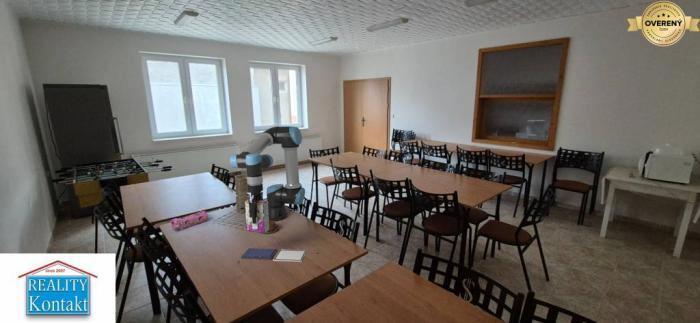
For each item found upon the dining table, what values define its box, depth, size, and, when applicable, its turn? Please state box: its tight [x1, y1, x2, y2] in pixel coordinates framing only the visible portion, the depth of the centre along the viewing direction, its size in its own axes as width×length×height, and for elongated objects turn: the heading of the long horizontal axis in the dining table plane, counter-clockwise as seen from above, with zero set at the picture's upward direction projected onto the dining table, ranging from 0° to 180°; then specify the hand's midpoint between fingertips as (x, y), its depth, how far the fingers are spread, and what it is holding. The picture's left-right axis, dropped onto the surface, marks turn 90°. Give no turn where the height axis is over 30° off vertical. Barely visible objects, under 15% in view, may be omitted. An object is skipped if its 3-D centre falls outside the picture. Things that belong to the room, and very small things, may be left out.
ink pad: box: [240, 247, 278, 260], centre depth 156 cm, size 10×16×1 cm, turn 85°
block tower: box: [234, 173, 251, 215], centre depth 217 cm, size 8×8×29 cm
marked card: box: [272, 248, 307, 263], centre depth 155 cm, size 12×15×1 cm
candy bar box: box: [244, 199, 269, 234], centre depth 153 cm, size 11×5×16 cm, turn 75°
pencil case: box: [170, 210, 209, 233], centre depth 194 cm, size 21×9×9 cm, turn 144°
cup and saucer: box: [263, 220, 280, 235], centre depth 186 cm, size 12×12×6 cm
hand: (257, 226), depth 154 cm, fingers closed on candy bar box, 5 cm apart
